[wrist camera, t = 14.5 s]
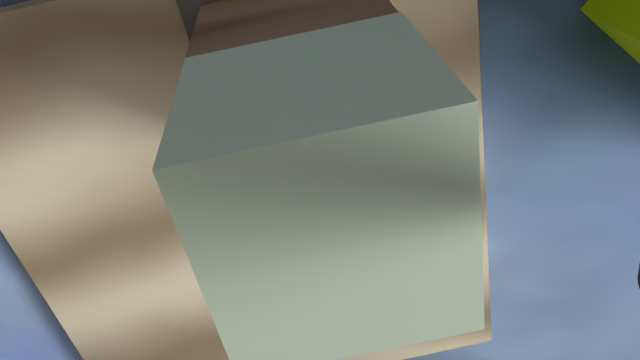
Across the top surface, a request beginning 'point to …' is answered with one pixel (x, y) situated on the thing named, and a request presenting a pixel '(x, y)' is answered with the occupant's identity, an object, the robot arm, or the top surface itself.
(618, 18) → the puzzle toy
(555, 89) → the top surface
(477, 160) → the sage block
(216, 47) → the walnut block
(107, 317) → the board
